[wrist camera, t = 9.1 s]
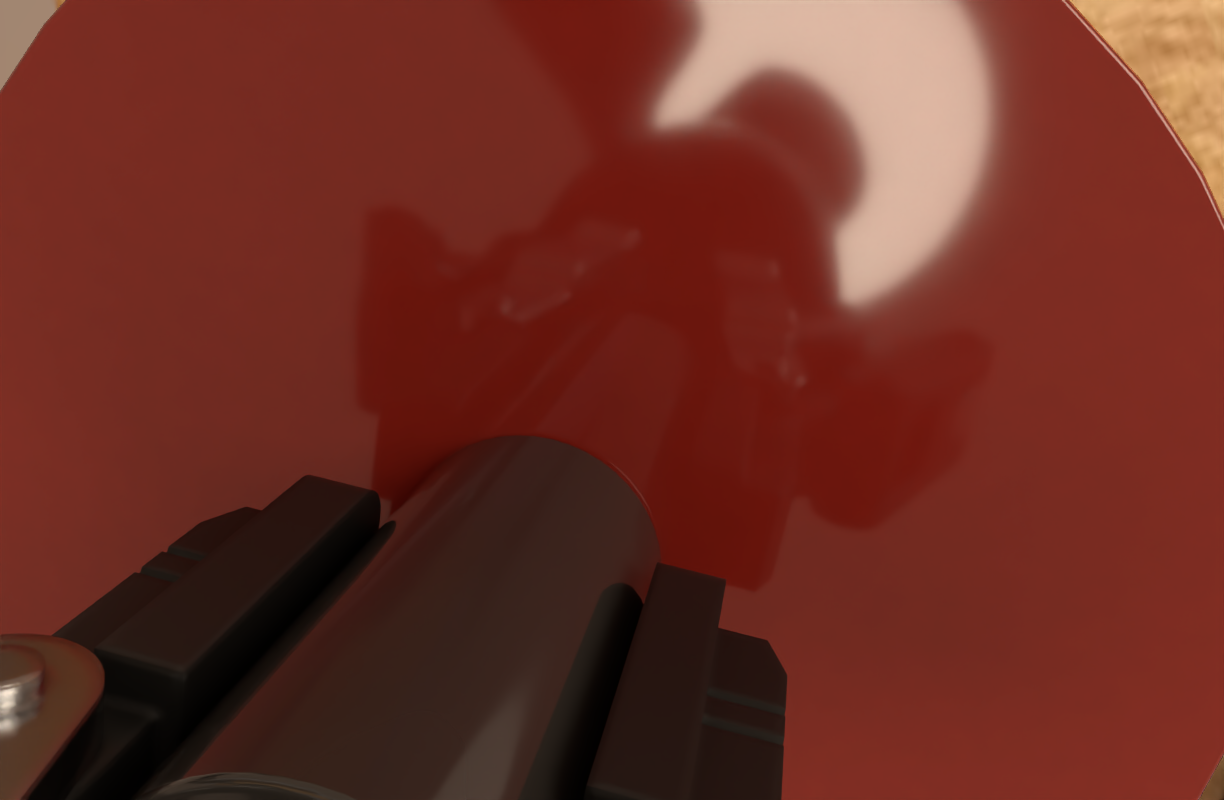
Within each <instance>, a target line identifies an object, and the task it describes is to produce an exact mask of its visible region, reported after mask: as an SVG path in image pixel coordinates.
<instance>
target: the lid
mask: <svg viewBox="0 0 1224 800" xmlns="http://www.w3.org/2000/svg"><path fill="white" fill-rule="evenodd" d="M305 475H313V476H317V477H321V478H325V479H329V480H333V481H337V482H341V483H345V484H349V485H353V486H357V487H361V488H365V489H369V490H373V491H376V492H377V493H378V495H379V498H380V504H381V513H380V524H379V530H378V531H377V532H376V533H375V534H374V535H373V536H372V537H371V538H370V539H369V540H368V541H367V542H366V544H365V545H364V546H363V547H362V548H361V549H360V550H359V551H358V552H357V553H356V554H355V555H354V557H353V558H352V559H351V560H350V561H349V562H348V563H347V564H346V565H345V566H344V567H343V568H342V569H341V571H340V572H339V573H338V574H337V575H336V576H335V577H334V578H333V579H332V580H331V581H330V582H329V584H328V585H327V586H326V587H325V588H324V589H323V590H322V591H321V592H320V593H319V594H318V595H317V596H316V598H315V599H314V600H313V601H312V602H311V603H310V604H309V605H308V606H307V607H306V608H305V609H304V610H303V612H302V613H301V614H300V615H299V616H298V617H297V618H296V619H295V620H294V621H293V622H292V623H291V625H290V626H289V627H288V628H287V629H286V630H285V631H284V632H283V633H282V634H281V635H280V636H279V637H278V639H277V640H276V641H275V642H274V643H273V644H272V645H271V646H270V647H269V648H268V649H267V650H266V652H265V653H264V654H263V655H262V656H261V657H260V658H259V659H258V660H257V661H256V662H255V663H254V664H253V666H252V667H251V668H250V669H249V670H248V671H247V672H246V673H245V674H244V675H243V676H242V677H241V679H240V680H239V681H238V682H237V683H236V684H235V685H234V686H233V687H232V688H231V689H230V690H229V691H228V693H227V694H226V695H225V696H224V697H223V698H222V699H221V700H220V701H219V702H218V703H217V704H216V706H215V707H214V708H213V709H212V710H211V711H210V712H209V713H208V714H207V715H206V716H205V717H204V718H203V720H202V721H201V722H200V723H199V724H198V725H197V726H196V727H195V728H194V729H193V730H192V731H191V733H190V734H189V735H188V736H187V737H186V738H185V739H184V740H183V741H182V742H181V743H180V744H179V745H178V747H177V748H176V749H175V750H174V751H173V752H172V753H171V754H170V755H169V756H168V757H167V758H166V759H165V761H164V762H163V763H162V764H161V765H160V766H159V767H158V768H157V769H156V770H155V771H154V772H153V774H152V775H151V776H150V777H149V778H148V779H147V780H146V781H145V782H144V783H143V784H142V785H141V786H140V788H139V789H138V790H137V791H136V792H135V793H134V794H133V795H132V796H131V797H130V798H129V799H128V800H583V799H584V794H585V789H586V785H587V782H588V778H589V775H590V772H591V769H592V766H593V763H594V759H595V756H596V753H597V750H598V747H599V744H600V741H601V737H602V734H603V731H604V728H605V725H606V722H607V718H608V715H609V712H610V709H611V706H612V703H613V699H614V696H615V693H616V690H617V687H618V684H619V680H620V677H621V674H622V671H623V668H624V665H625V662H626V658H627V655H628V652H629V649H630V646H631V643H632V639H633V636H634V633H635V630H636V627H637V624H638V620H639V617H640V614H641V611H642V608H643V605H644V601H645V598H646V595H647V592H648V589H649V586H650V583H651V579H652V576H653V573H654V570H655V567H656V564H657V562H659V563H663V564H667V565H671V566H675V567H679V568H683V569H687V570H691V571H695V572H699V573H703V574H707V575H711V576H715V577H719V578H723V579H726V586H725V591H724V597H723V603H722V609H721V614H720V620H719V626H718V628H721V629H725V630H729V631H733V632H737V633H741V634H745V635H749V636H753V637H757V638H761V639H764V640H768V642H769V643H770V645H771V647H772V649H773V650H774V652H775V654H776V656H777V657H778V659H779V661H780V663H781V665H782V666H783V668H784V670H785V672H786V673H787V694H786V710H785V715H784V716H785V736H784V742H783V746H784V756H783V777H782V798H781V800H1199V798H1200V797H1201V795H1202V793H1203V791H1204V789H1205V787H1206V786H1207V784H1208V782H1209V780H1210V778H1211V777H1212V775H1213V773H1214V771H1215V769H1216V767H1217V766H1218V764H1219V762H1220V760H1221V758H1222V757H1223V755H1224V217H1223V215H1222V213H1221V211H1220V209H1219V206H1218V204H1217V202H1216V200H1215V198H1214V196H1213V193H1212V191H1211V189H1210V187H1209V185H1208V183H1207V180H1206V178H1205V176H1204V174H1203V172H1202V170H1201V169H1200V167H1199V166H1198V164H1197V163H1196V161H1195V160H1194V158H1193V157H1192V155H1191V154H1190V152H1189V151H1188V149H1187V148H1186V146H1185V145H1184V143H1183V142H1182V140H1181V139H1180V137H1179V136H1178V134H1177V133H1176V131H1175V130H1174V128H1173V126H1172V125H1171V123H1170V122H1169V120H1168V119H1167V117H1166V116H1165V114H1164V113H1163V111H1162V110H1161V108H1160V107H1159V105H1158V104H1157V102H1156V101H1155V99H1154V98H1153V96H1152V95H1151V93H1150V92H1149V90H1148V89H1147V87H1146V86H1145V84H1144V83H1143V81H1142V80H1141V79H1140V78H1139V77H1138V76H1137V74H1136V73H1135V72H1134V71H1133V70H1132V69H1131V68H1130V67H1129V66H1128V64H1127V63H1126V62H1125V61H1124V60H1123V59H1122V58H1121V57H1120V56H1119V55H1118V53H1117V52H1116V51H1115V50H1114V49H1113V48H1112V47H1111V46H1110V45H1109V43H1108V42H1107V41H1106V40H1105V39H1104V38H1103V37H1102V36H1101V35H1100V34H1099V32H1098V31H1097V30H1096V29H1095V28H1094V27H1093V26H1092V25H1091V24H1090V22H1089V21H1088V20H1087V19H1086V18H1085V17H1084V16H1083V15H1082V14H1081V13H1080V11H1079V10H1078V9H1077V8H1076V7H1075V6H1074V5H1073V4H1072V3H1071V2H1070V0H65V2H64V3H63V4H62V5H61V6H60V7H59V8H58V9H57V10H56V12H55V13H54V14H53V15H52V16H51V17H50V18H49V19H48V21H47V22H46V23H45V24H44V25H43V27H42V28H41V30H40V31H39V33H38V34H37V36H36V37H35V39H34V40H33V42H32V43H31V45H30V47H29V48H28V50H27V51H26V53H25V54H24V56H23V57H22V59H21V60H20V62H19V63H18V65H17V66H16V68H15V69H14V71H13V72H12V74H11V76H10V77H9V79H8V80H7V82H6V83H5V85H4V86H3V88H2V89H1V91H0V635H2V634H15V633H25V634H42V635H50V636H51V635H53V634H54V633H55V632H57V631H58V630H59V629H61V628H62V627H63V626H64V625H66V624H67V623H68V622H70V621H71V620H72V619H74V618H75V617H76V616H78V615H79V614H80V613H82V612H83V611H84V610H86V609H87V608H88V607H89V606H91V605H92V604H93V603H95V602H96V601H97V600H99V599H100V598H101V597H103V596H104V595H105V594H107V593H108V592H109V591H111V590H112V589H113V588H115V587H116V586H117V585H118V584H120V583H121V582H122V581H124V580H125V579H126V578H128V577H129V576H130V575H132V574H133V573H134V572H136V573H140V571H141V569H142V566H144V565H145V564H146V563H147V562H149V561H150V560H151V559H153V558H154V557H155V556H157V555H158V554H159V553H161V552H167V550H168V547H169V546H170V545H171V544H172V543H174V542H175V541H176V540H178V539H179V538H180V537H182V536H183V535H184V534H186V533H187V532H188V531H190V530H191V529H192V528H194V527H195V526H196V525H198V524H199V523H200V522H203V521H206V520H209V519H211V518H214V517H217V516H220V515H223V514H226V513H229V512H232V511H235V510H237V509H240V508H243V507H250V508H254V509H258V510H263V509H264V508H265V507H266V506H268V505H269V504H270V503H271V502H273V501H274V500H275V499H276V498H277V497H279V496H280V495H281V494H282V493H283V492H285V491H286V490H287V489H288V488H290V487H291V486H292V485H293V484H294V483H296V482H297V481H298V480H299V479H301V478H302V477H304V476H305Z"/></svg>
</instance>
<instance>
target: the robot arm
mask: <svg viewBox="0 0 1224 800" xmlns="http://www.w3.org/2000/svg"><path fill="white" fill-rule="evenodd" d="M380 513H381V504H380V498H379V495H378V493H377V492H376V491H373V490H369V489H365V488H361V487H357V486H353V485H349V484H345V483H341V482H337V481H333V480H329V479H325V478H321V477H317V476H313V475H305V476H304V477H302V478H301V479H299V480H298V481H297V482H296V483H294V484H293V485H292V486H291V487H290V488H288V489H287V490H286V491H285V492H283V493H282V494H281V495H280V496H279V497H277V498H276V499H275V500H274V501H273V502H271V503H270V504H269V505H268V506H266V507H265V508H264V509H263V510H258V509H254V508H250V507H243V508H240V509H237V510H235V511H232V512H229V513H226V514H223V515H220V516H217V517H214V518H211V519H209V520H206V521H203V522H200V523H199V524H198V525H196V526H195V527H194V528H192V529H191V530H190V531H188V532H187V533H186V534H184V535H183V536H182V537H180V538H179V539H178V540H176V541H175V542H174V543H172V544H171V545H170V546H169V547H168V550H167V552H161V553H159V554H158V555H157V556H155V557H154V558H153V559H151V560H150V561H149V562H147V563H146V564H145V565H144V566H142V569H141V571H140V573H136V572H134V573H133V574H132V575H130V576H129V577H128V578H126V579H125V580H124V581H122V582H121V583H120V584H118V585H117V586H116V587H115V588H113V589H112V590H111V591H109V592H108V593H107V594H105V595H104V596H103V597H101V598H100V599H99V600H97V601H96V602H95V603H93V604H92V605H91V606H89V607H88V608H87V609H86V610H84V611H83V612H82V613H80V614H79V615H78V616H76V617H75V618H74V619H72V620H71V621H70V622H68V623H67V624H66V625H64V626H63V627H62V628H61V629H59V630H58V631H57V632H55V633H54V634H53V635H51V636H50V635H42V634H25V633H15V634H2V635H0V800H128V799H129V798H130V797H131V796H132V795H133V794H134V793H135V792H136V791H137V790H138V789H139V788H140V786H141V785H142V784H143V783H144V782H145V781H146V780H147V779H148V778H149V777H150V776H151V775H152V774H153V772H154V771H155V770H156V769H157V768H158V767H159V766H160V765H161V764H162V763H163V762H164V761H165V759H166V758H167V757H168V756H169V755H170V754H171V753H172V752H173V751H174V750H175V749H176V748H177V747H178V745H179V744H180V743H181V742H182V741H183V740H184V739H185V738H186V737H187V736H188V735H189V734H190V733H191V731H192V730H193V729H194V728H195V727H196V726H197V725H198V724H199V723H200V722H201V721H202V720H203V718H204V717H205V716H206V715H207V714H208V713H209V712H210V711H211V710H212V709H213V708H214V707H215V706H216V704H217V703H218V702H219V701H220V700H221V699H222V698H223V697H224V696H225V695H226V694H227V693H228V691H229V690H230V689H231V688H232V687H233V686H234V685H235V684H236V683H237V682H238V681H239V680H240V679H241V677H242V676H243V675H244V674H245V673H246V672H247V671H248V670H249V669H250V668H251V667H252V666H253V664H254V663H255V662H256V661H257V660H258V659H259V658H260V657H261V656H262V655H263V654H264V653H265V652H266V650H267V649H268V648H269V647H270V646H271V645H272V644H273V643H274V642H275V641H276V640H277V639H278V637H279V636H280V635H281V634H282V633H283V632H284V631H285V630H286V629H287V628H288V627H289V626H290V625H291V623H292V622H293V621H294V620H295V619H296V618H297V617H298V616H299V615H300V614H301V613H302V612H303V610H304V609H305V608H306V607H307V606H308V605H309V604H310V603H311V602H312V601H313V600H314V599H315V598H316V596H317V595H318V594H319V593H320V592H321V591H322V590H323V589H324V588H325V587H326V586H327V585H328V584H329V582H330V581H331V580H332V579H333V578H334V577H335V576H336V575H337V574H338V573H339V572H340V571H341V569H342V568H343V567H344V566H345V565H346V564H347V563H348V562H349V561H350V560H351V559H352V558H353V557H354V555H355V554H356V553H357V552H358V551H359V550H360V549H361V548H362V547H363V546H364V545H365V544H366V542H367V541H368V540H369V539H370V538H371V537H372V536H373V535H374V534H375V533H376V532H377V531H378V530H379V524H380ZM725 586H726V579H723V578H719V577H715V576H711V575H707V574H703V573H699V572H695V571H691V570H687V569H683V568H679V567H675V566H671V565H667V564H663V563H659V562H657V564H656V567H655V570H654V573H653V576H652V579H651V583H650V586H649V589H648V592H647V595H646V598H645V601H644V605H643V608H642V611H641V614H640V617H639V620H638V624H637V627H636V630H635V633H634V636H633V639H632V643H631V646H630V649H629V652H628V655H627V658H626V662H625V665H624V668H623V671H622V674H621V677H620V680H619V684H618V687H617V690H616V693H615V696H614V699H613V703H612V706H611V709H610V712H609V715H608V718H607V722H606V725H605V728H604V731H603V734H602V737H601V741H600V744H599V747H598V750H597V753H596V756H595V759H594V763H593V766H592V769H591V772H590V775H589V778H588V782H587V785H586V789H585V794H584V799H583V800H781V798H782V777H783V756H784V746H783V742H784V736H785V716H784V715H785V710H786V694H787V673H786V672H785V670H784V668H783V666H782V665H781V663H780V661H779V659H778V657H777V656H776V654H775V652H774V650H773V649H772V647H771V645H770V643H769V642H768V640H764V639H761V638H757V637H753V636H749V635H745V634H741V633H737V632H733V631H729V630H725V629H721V628H718V626H719V620H720V614H721V609H722V603H723V597H724V591H725Z"/></svg>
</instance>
